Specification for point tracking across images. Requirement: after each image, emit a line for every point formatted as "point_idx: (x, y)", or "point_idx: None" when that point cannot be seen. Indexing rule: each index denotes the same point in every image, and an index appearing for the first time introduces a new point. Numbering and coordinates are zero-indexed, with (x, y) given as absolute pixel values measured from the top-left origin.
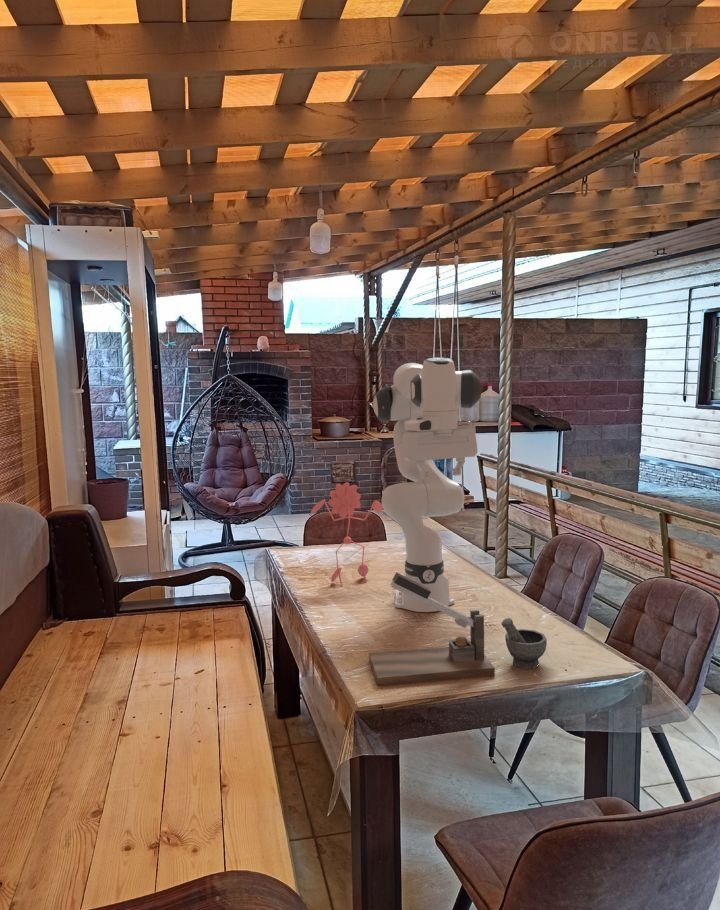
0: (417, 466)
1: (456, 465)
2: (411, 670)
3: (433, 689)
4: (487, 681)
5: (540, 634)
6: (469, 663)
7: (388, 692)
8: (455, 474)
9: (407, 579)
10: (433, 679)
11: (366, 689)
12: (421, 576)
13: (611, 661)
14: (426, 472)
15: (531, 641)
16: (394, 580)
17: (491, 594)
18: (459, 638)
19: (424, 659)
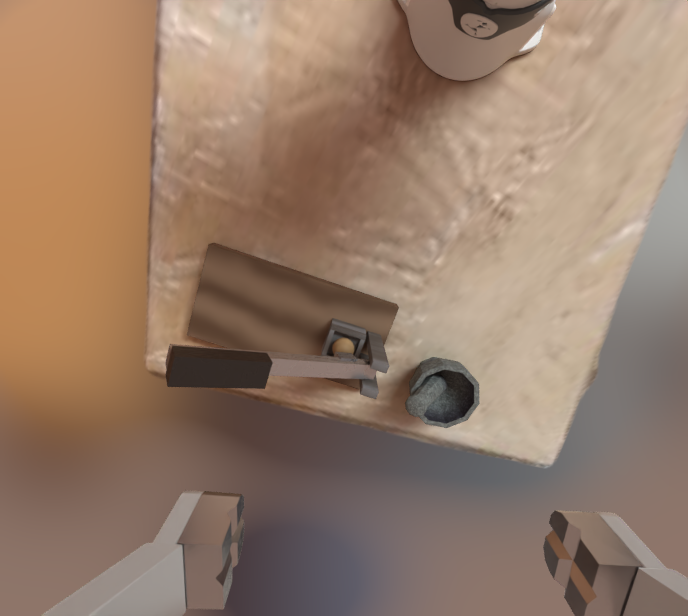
0: (72, 610)
1: (677, 602)
2: (246, 338)
3: None
4: (345, 392)
5: (474, 401)
6: None
7: None
8: (549, 555)
9: (200, 379)
10: None
11: (172, 331)
12: (458, 14)
13: (545, 428)
14: (202, 596)
15: (465, 376)
16: (168, 365)
17: (657, 38)
18: None
19: (285, 314)
